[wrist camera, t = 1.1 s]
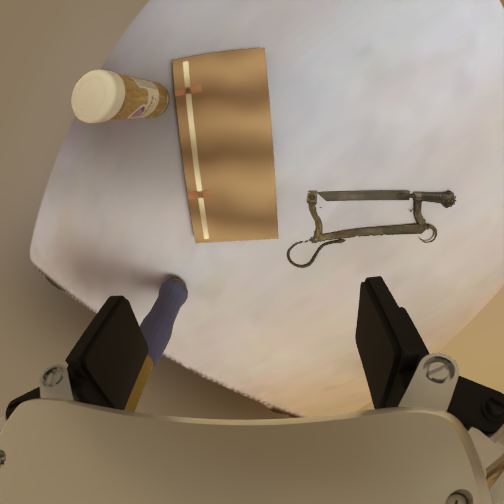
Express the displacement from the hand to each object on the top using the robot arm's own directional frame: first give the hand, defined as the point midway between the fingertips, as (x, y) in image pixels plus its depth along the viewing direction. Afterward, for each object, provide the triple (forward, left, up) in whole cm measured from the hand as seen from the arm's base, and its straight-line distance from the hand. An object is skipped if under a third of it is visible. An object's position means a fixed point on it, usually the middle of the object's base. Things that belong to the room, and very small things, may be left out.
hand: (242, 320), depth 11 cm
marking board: (-4, -3, -25) cm, 25 cm away
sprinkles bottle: (-11, -12, -25) cm, 30 cm away
